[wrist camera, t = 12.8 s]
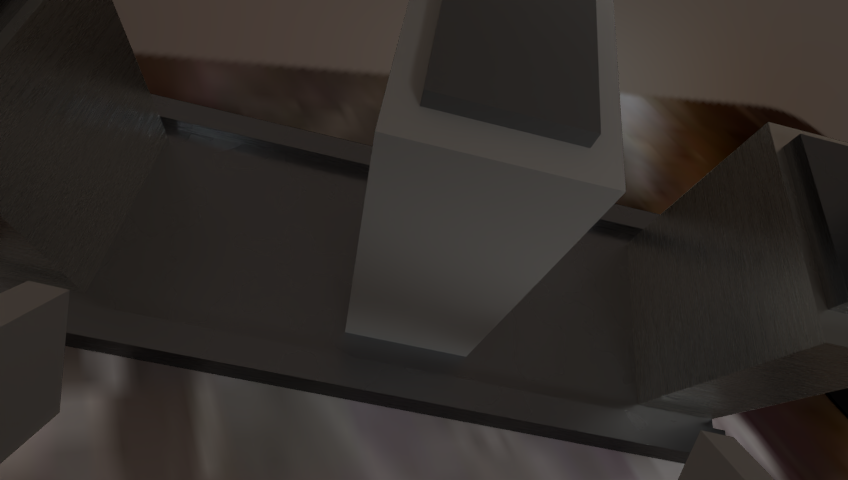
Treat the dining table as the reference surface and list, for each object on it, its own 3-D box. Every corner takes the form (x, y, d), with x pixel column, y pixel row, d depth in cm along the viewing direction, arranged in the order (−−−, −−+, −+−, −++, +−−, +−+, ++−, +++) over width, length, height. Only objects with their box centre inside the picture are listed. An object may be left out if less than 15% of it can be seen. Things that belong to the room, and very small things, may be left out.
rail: (666, 244, 24) (861, 96, 16) (690, 464, 19) (993, 429, 11) (121, 117, 22) (-9, -139, 13) (-8, 331, 17) (-348, 148, 8)
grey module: (480, 219, 21) (621, -32, 11) (465, 356, 18) (639, 178, 8) (377, 195, 21) (429, -86, 11) (345, 332, 18) (377, 114, 8)
